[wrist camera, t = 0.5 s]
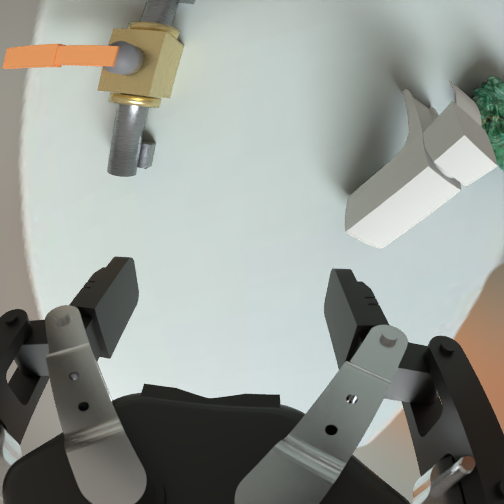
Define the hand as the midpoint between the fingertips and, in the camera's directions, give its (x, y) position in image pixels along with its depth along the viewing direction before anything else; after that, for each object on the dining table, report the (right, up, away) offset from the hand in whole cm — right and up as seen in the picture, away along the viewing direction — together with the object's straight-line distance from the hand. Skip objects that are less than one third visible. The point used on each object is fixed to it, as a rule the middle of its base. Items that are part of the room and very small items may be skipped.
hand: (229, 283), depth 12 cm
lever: (-18, +22, +11) cm, 30 cm away
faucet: (+19, +14, +25) cm, 34 cm away
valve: (-11, +24, +20) cm, 33 cm away
